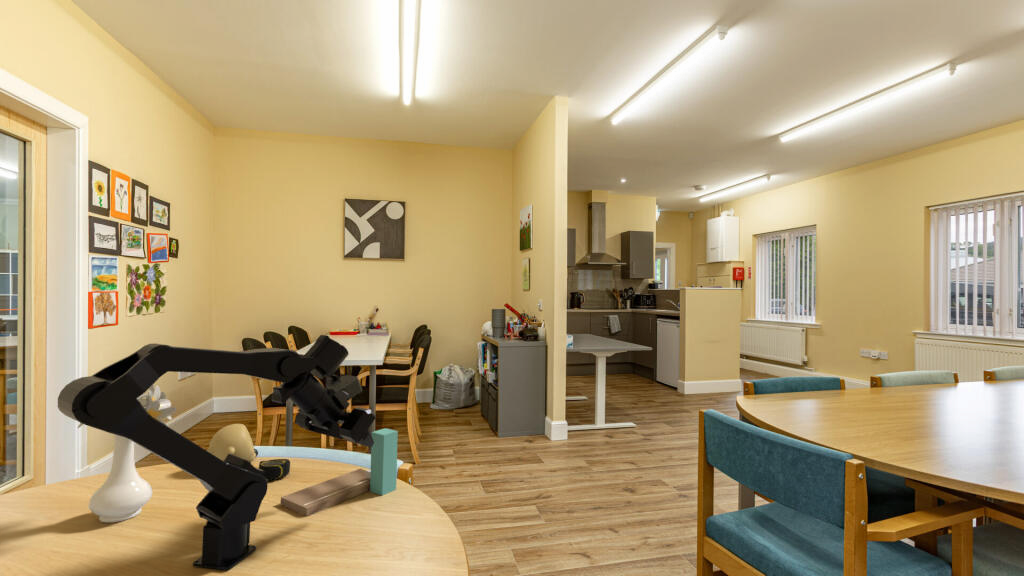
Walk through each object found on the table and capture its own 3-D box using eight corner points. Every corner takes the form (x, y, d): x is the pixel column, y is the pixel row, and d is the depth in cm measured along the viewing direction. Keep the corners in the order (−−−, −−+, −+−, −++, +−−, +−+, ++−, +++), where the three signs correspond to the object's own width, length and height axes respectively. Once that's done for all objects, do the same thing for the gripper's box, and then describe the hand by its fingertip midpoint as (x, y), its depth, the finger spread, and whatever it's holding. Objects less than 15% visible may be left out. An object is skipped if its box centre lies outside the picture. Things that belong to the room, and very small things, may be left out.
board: (306, 516, 89) (306, 508, 89) (280, 504, 94) (280, 496, 94) (385, 483, 106) (385, 476, 106) (360, 474, 110) (360, 468, 111)
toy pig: (250, 481, 114) (272, 443, 122) (231, 456, 107) (255, 417, 115) (214, 478, 115) (237, 440, 123) (192, 452, 107) (218, 414, 116)
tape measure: (290, 471, 113) (290, 455, 113) (288, 481, 106) (289, 464, 107) (258, 474, 110) (259, 459, 110) (255, 485, 104) (256, 468, 104)
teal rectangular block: (382, 495, 99) (384, 435, 99) (360, 488, 103) (362, 429, 103) (396, 489, 102) (397, 431, 103) (375, 482, 106) (376, 426, 107)
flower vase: (126, 538, 79) (133, 394, 80) (49, 524, 84) (57, 387, 85) (194, 506, 92) (200, 382, 93) (124, 495, 96) (130, 377, 97)
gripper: (369, 368, 87) (409, 415, 96) (310, 360, 97) (352, 403, 106) (332, 418, 80) (379, 463, 89) (272, 403, 90) (320, 446, 99)
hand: (357, 441), depth 96 cm, fingers open, 9 cm apart
